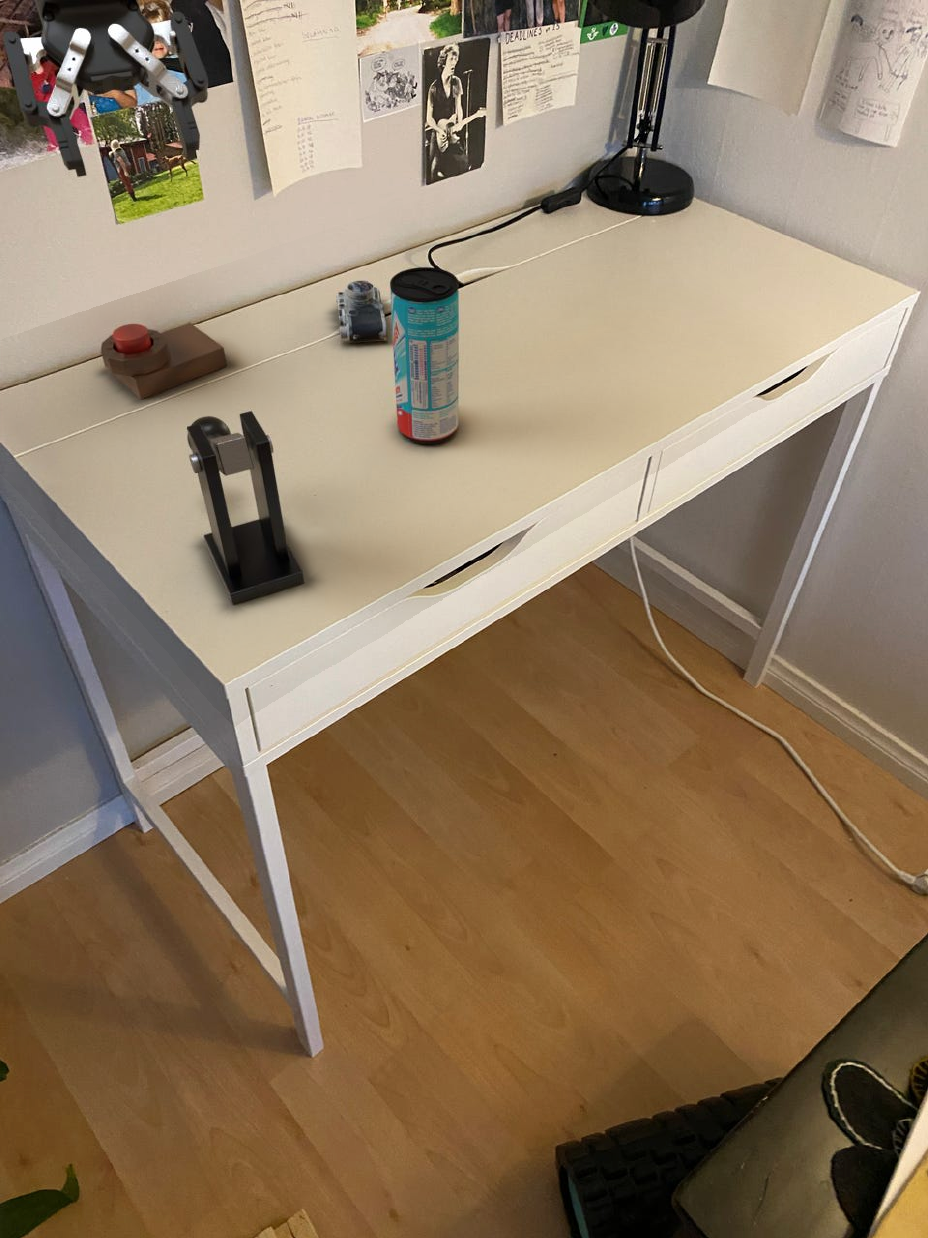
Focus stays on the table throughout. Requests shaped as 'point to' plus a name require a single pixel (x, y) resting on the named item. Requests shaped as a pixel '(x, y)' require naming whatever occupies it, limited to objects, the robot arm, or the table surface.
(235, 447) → the lever
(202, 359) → the button block
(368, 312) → the camera
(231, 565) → the bracket
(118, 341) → the button
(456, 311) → the beverage can
